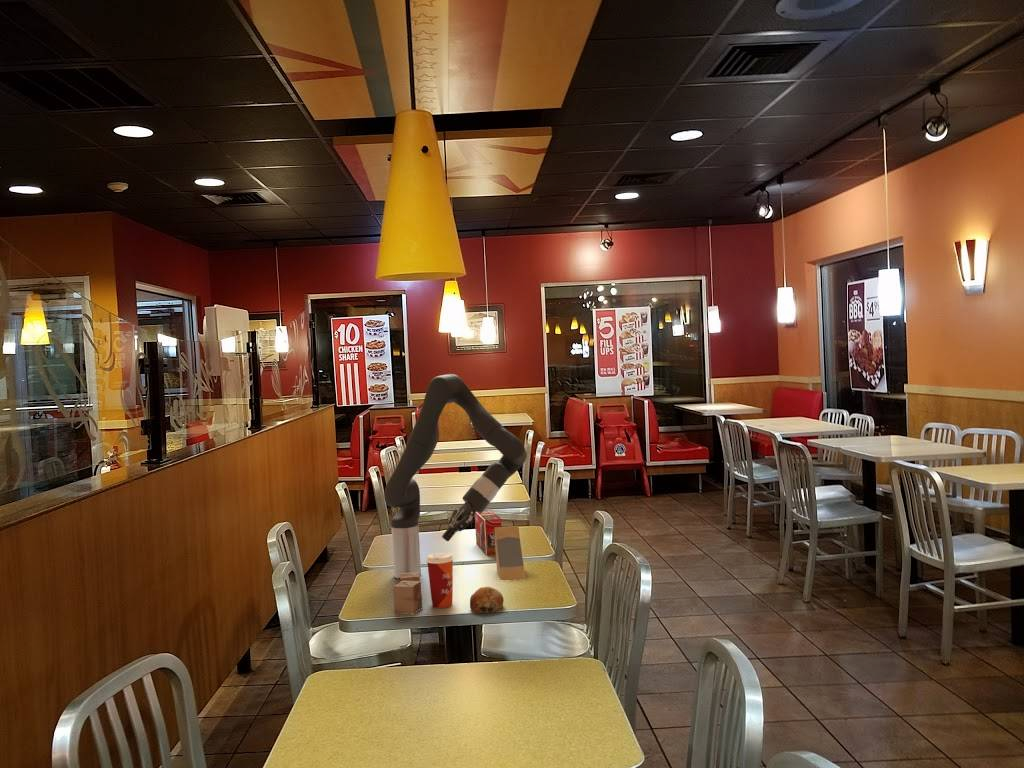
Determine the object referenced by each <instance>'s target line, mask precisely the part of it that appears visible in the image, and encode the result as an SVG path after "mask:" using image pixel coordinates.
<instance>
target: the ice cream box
mask: <svg viewBox="0 0 1024 768" xmlns="http://www.w3.org/2000/svg"><path fill="white" fill-rule="evenodd" d="M474 520H475V522H474V523H475V524H474V525H475V527H474V528H475V540H476V542H475V543H476V545H478V546H477V547H478V548H479V549H480V550H481V551H482V552H483V554H484V555H485V556H493V555H495V556H496V550H495V527H502V518H501V517H500V516H499V515H498V514H497V513H495V511H493V510H492V509H485V510H484V511H483V512H482V513H478V512H476V513H475V515H474Z"/></svg>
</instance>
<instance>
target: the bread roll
mask: <svg viewBox="0 0 1024 768" xmlns="http://www.w3.org/2000/svg"><path fill="white" fill-rule="evenodd" d="M503 606H504V596H503V595H502V593H501V592H500V591H499V590H498V589H497V588H494V587H491V586H483V587H479V588H478V589H476V590H475V592H474V593H473V594H471V595H470V598H469V607H470V610H471V611H472V612H473V611H474V612H475V613H480V614H487V613H488V614H489V613H494V612H496V611H500V610H502V608H503Z"/></svg>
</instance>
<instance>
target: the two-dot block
mask: <svg viewBox="0 0 1024 768" xmlns="http://www.w3.org/2000/svg"><path fill="white" fill-rule="evenodd" d="M420 577H421V575H420V573H419V572H409V573H400V579H399V583H400V582H401V581H421V578H420Z"/></svg>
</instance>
